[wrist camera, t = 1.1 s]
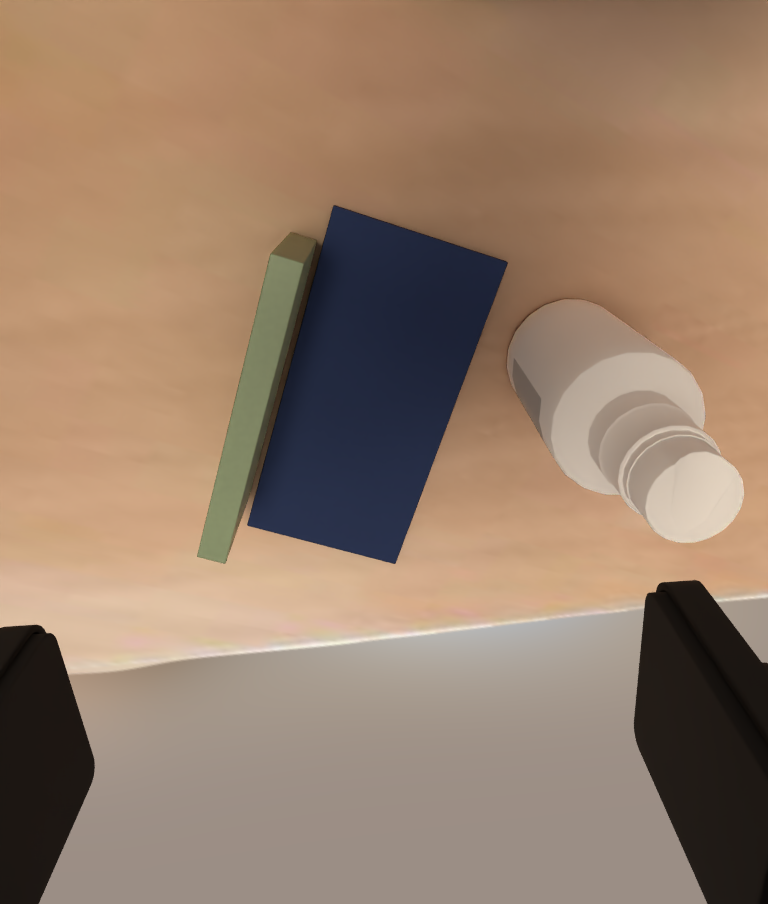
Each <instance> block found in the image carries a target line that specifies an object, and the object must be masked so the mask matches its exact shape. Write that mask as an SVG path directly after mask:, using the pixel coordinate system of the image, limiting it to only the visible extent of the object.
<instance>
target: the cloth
mask: <svg viewBox="0 0 768 904" xmlns="http://www.w3.org/2000/svg"><path fill="white" fill-rule="evenodd" d="M506 266H507V262H506V261H503V260H500V259H497V258H494V257H491V256H488V255H485V254H482V253H479V252H476V251H473V250H470V249H467V248H464V247H460V246H457V245H454V244H451V243H448V242H445V241H442V240H439V239H436V238H433V237H430V236H427V235H424V234H421V233H418V232H415V231H412V230H408V229H405V228H402V227H399V226H396V225H393V224H390V223H387V222H384V221H381V220H378V219H375V218H372V217H369V216H366V215H363V214H359V213H356V212H353V211H350V210H347V209H344V208H341V207H338V206H335V205H334V206H333V209H332V213H331V217H330V220H329V224H328V228H327V232H326V235H325V239H324V243H323V246H322V250H321V254H320V258H319V261H318V265H317V269H316V272H315V276H314V280H313V284H312V287H311V291H310V295H309V298H308V302H307V306H306V309H305V313H304V317H303V321H302V324H301V328H300V332H299V335H298V339H297V343H296V347H295V350H294V354H293V358H292V361H291V365H290V369H289V372H288V376H287V380H286V384H285V387H284V391H283V395H282V398H281V402H280V406H279V410H278V413H277V417H276V421H275V424H274V428H273V432H272V436H271V439H270V443H269V447H268V450H267V454H266V458H265V461H264V465H263V469H262V473H261V476H260V480H259V484H258V487H257V491H256V495H255V499H254V502H253V506H252V510H251V513H250V517H249V521H248V524H247V525H248V526H251V527H255V528H259V529H263V530H266V531H270V532H274V533H278V534H282V535H286V536H290V537H293V538H297V539H301V540H305V541H309V542H313V543H316V544H320V545H324V546H328V547H332V548H336V549H340V550H343V551H347V552H351V553H355V554H359V555H363V556H366V557H370V558H374V559H378V560H382V561H386V562H390V563H393V564H395V563H396V560H397V558H398V555H399V552H400V550H401V547H402V544H403V542H404V539H405V536H406V534H407V531H408V528H409V526H410V523H411V520H412V518H413V515H414V512H415V510H416V507H417V504H418V502H419V499H420V496H421V494H422V491H423V488H424V486H425V483H426V480H427V478H428V475H429V472H430V470H431V467H432V464H433V461H434V459H435V456H436V453H437V451H438V448H439V445H440V443H441V440H442V437H443V435H444V432H445V429H446V427H447V424H448V421H449V419H450V416H451V413H452V411H453V408H454V405H455V403H456V400H457V397H458V395H459V392H460V389H461V387H462V384H463V381H464V379H465V376H466V373H467V370H468V368H469V365H470V362H471V360H472V357H473V354H474V352H475V349H476V346H477V344H478V341H479V338H480V336H481V333H482V330H483V328H484V325H485V322H486V320H487V317H488V314H489V312H490V309H491V306H492V304H493V301H494V298H495V296H496V293H497V290H498V288H499V285H500V282H501V279H502V277H503V274H504V271H505V269H506Z"/></svg>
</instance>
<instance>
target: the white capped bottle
mask: <svg viewBox="0 0 768 904" xmlns="http://www.w3.org/2000/svg"><path fill="white" fill-rule="evenodd" d="M507 370H508V374H509V378H510V382H511V385H512V387H513V388H514V390H515V392H516V394H517V395H518V397H519V399H520V401H521V402H522V404H523V406H524V408H525V409H526V411H527V413H528V414H529V416H530V418H531V420H532V421H533V423H534V425H535V427H536V428H537V430H538V432H539V434H540V435H541V437H542V439H543V441H544V442H545V444H546V446H547V447H548V449H549V451H550V453H551V454H552V456H553V458H554V459H555V461H556V462H557V464H558V465H559V467H560V468H561V470H562V471H563V473H564V474H565V475H566V476H568V477H569V478H571V479H572V480H573V481H575V482H576V483H577V484H579V485H580V486H582V487H583V488H585V489H589V490H592V491H595V492H598V493H602V494H605V495H621V497H622V498H623V500H624V501H625V503H626V504H627V505H628V506H629V507H630V508H631V509H633V510H634V511H635V512H637V513H638V514H640V515H642V516H643V517H644V518H645V520H646V521H647V522H648V524H649V525H650V527H651V528H652V529H653V531H655V532H656V533H657V534H659V535H660V536H662V537H663V538H665V539H668V540H671V541H674V542H678V543H694V542H698V541H702V540H705V539H709V538H710V537H712V536H714V535H716V534H718V533H719V532H721V531H723V530H724V529H725V528H726V527H727V526H728V525H729V524H730V523H731V522H732V521H733V520H734V518H735V517H736V515H737V513H738V512H739V510H740V508H741V505H742V501H743V497H744V488H743V480H742V478H741V476H740V474H739V472H738V471H737V469H736V468H735V467H734V466H733V465H732V464H731V463H729V462H728V461H727V460H726V459H725V458H724V457H723V456H722V455H721V452H720V450H719V448H718V446H717V445H716V443H715V441H714V440H713V439H712V438H711V437H710V436H709V435H708V434H707V433H705V432H704V431H703V426H704V422H705V417H706V415H705V407H704V400H703V394H702V391H701V390H700V388H699V386H698V384H697V382H696V380H695V379H694V377H693V375H692V373H691V372H690V371H689V370H688V369H687V368H686V367H684V366H683V365H682V364H681V363H679V362H678V361H677V360H676V359H675V358H673V357H672V356H671V355H669V354H668V353H666V352H665V351H664V350H662V349H661V348H659V347H658V346H657V345H655V344H654V343H652V342H651V341H650V340H648V339H647V338H645V337H644V336H642V335H641V334H640V333H638V332H637V331H635V330H634V329H633V328H631V327H630V326H628V325H627V324H626V323H624V322H623V321H621V320H620V319H619V318H617V317H616V316H614V315H613V314H611V313H610V312H609V311H607V310H606V309H604V308H603V307H602V306H600V305H597V304H594V303H592V302H589V301H586V300H583V299H563V300H559V301H556V302H553V303H550V304H546V305H544V306H542V307H541V308H539V309H538V310H536V311H535V312H533V313H532V314H530V315H529V316H528V317H527V318H526V319H525V320H524V322H523V323H522V324H521V325H520V326H519V328H518V329H517V330H516V331H515V334H514V336H513V338H512V341H511V343H510V346H509V348H508V357H507Z"/></svg>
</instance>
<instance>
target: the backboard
mask: <svg viewBox="0 0 768 904" xmlns="http://www.w3.org/2000/svg"><path fill="white" fill-rule="evenodd" d="M316 244H317V241H316V240H314V239H311V238H307V237H304V236H301V235H298V234H295V233H292V232H290V234H289V235H288V236H287V237H286V238H285V239H284V240H283V241H282V242H281V243H280V244H279V245H278V246H277V247H276V249H275V250H274V251H273V252H272V253H271V254H270V258H269V262H268V266H267V270H266V274H265V278H264V282H263V286H262V291H261V295H260V299H259V303H258V307H257V311H256V315H255V319H254V324H253V328H252V332H251V336H250V340H249V344H248V348H247V352H246V357H245V361H244V365H243V369H242V373H241V377H240V381H239V385H238V390H237V394H236V398H235V402H234V406H233V410H232V414H231V418H230V423H229V427H228V431H227V435H226V439H225V443H224V447H223V451H222V456H221V460H220V464H219V468H218V472H217V476H216V480H215V484H214V489H213V493H212V497H211V501H210V505H209V509H208V513H207V517H206V522H205V526H204V530H203V534H202V538H201V542H200V546H199V550H198V555H197V557H200V558H204V559H208V560H212V561H216V562H220V563H224V564H225V563H226V561H227V558H228V555H229V552H230V549H231V546H232V544H233V541H234V538H235V535H236V532H237V529H238V526H239V524H240V521H241V518H242V515H243V512H244V509H245V507H246V504H247V501H248V498H249V495H250V492H251V488H252V484H253V480H254V477H255V473H256V469H257V465H258V462H259V458H260V454H261V450H262V447H263V443H264V439H265V435H266V432H267V428H268V424H269V420H270V417H271V413H272V409H273V405H274V402H275V398H276V394H277V390H278V387H279V383H280V379H281V375H282V371H283V368H284V364H285V360H286V356H287V353H288V349H289V345H290V341H291V338H292V334H293V330H294V326H295V323H296V319H297V315H298V311H299V308H300V304H301V300H302V296H303V293H304V289H305V285H306V281H307V278H308V274H309V270H310V266H311V262H312V259H313V255H314V251H315V247H316Z"/></svg>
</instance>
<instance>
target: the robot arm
mask: <svg viewBox="0 0 768 904" xmlns="http://www.w3.org/2000/svg"><path fill="white" fill-rule="evenodd" d="M634 732H635V738H636V742H637V745H638V748H639V750H640V752H641V755H642V757H643V759H644V762H645V764H646V766H647V768H648V771H649V773H650V775H651V777H652V779H653V782H654V784H655V786H656V789H657V791H658V793H659V795H660V798H661V800H662V802H663V804H664V807H665V809H666V811H667V813H668V816H669V818H670V820H671V822H672V825H673V827H674V829H675V832H676V834H677V836H678V838H679V841H680V843H681V845H682V847H683V850H684V852H685V854H686V856H687V858H688V861H689V863H690V865H691V868H692V870H693V872H694V874H695V877H696V879H697V881H698V883H699V886H700V888H701V890H702V892H703V895H704V897H705V899H706V901H707V904H768V663H762V662H761V661H760V660H759V658H758V657H757V656H756V654H755V653H754V652H753V650H752V649H751V648H750V647H749V645H748V644H747V642H746V641H745V640H744V638H743V637H742V636H741V635H740V633H739V632H738V631H737V629H736V628H735V627H734V625H733V624H732V623H731V621H730V620H729V619H728V617H727V616H726V615H725V614H724V612H723V611H722V609H721V608H720V607H719V605H718V604H717V603H716V601H715V600H714V599H713V597H712V596H711V595H710V593H709V592H708V591H707V590H706V588H705V587H704V586H703V584H702V583H701V582H700V581H696V580H692V581H677V582H663V583H660V584H659V585H658V587H657V590H656V592H654V593H648V594H647V596H646V600H645V609H644V621H643V632H642V641H641V652H640V663H639V675H638V686H637V695H636V706H635V717H634ZM94 768H95V767H94V757H93V754H92V751H91V747H90V744H89V741H88V738H87V735H86V731H85V728H84V725H83V722H82V719H81V716H80V712H79V709H78V706H77V703H76V699H75V696H74V694H73V690H72V687H71V684H70V680H69V677H68V674H67V671H66V668H65V664H64V661H63V658H62V655H61V652H60V648H59V645H58V642H57V640H56V637H55V636H54V635H53V634H51V633H46V632H45V630H44V629H43V628H42V626H39V625H26V626H11V627H2V628H0V904H39V902H40V899H41V897H42V895H43V893H44V890H45V888H46V886H47V883H48V881H49V879H50V877H51V874H52V872H53V869H54V867H55V865H56V863H57V860H58V858H59V856H60V854H61V851H62V849H63V847H64V845H65V843H66V840H67V838H68V836H69V833H70V831H71V829H72V827H73V824H74V822H75V820H76V818H77V815H78V813H79V811H80V808H81V806H82V804H83V802H84V799H85V797H86V795H87V793H88V790H89V788H90V786H91V783H92V780H93V776H94Z"/></svg>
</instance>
